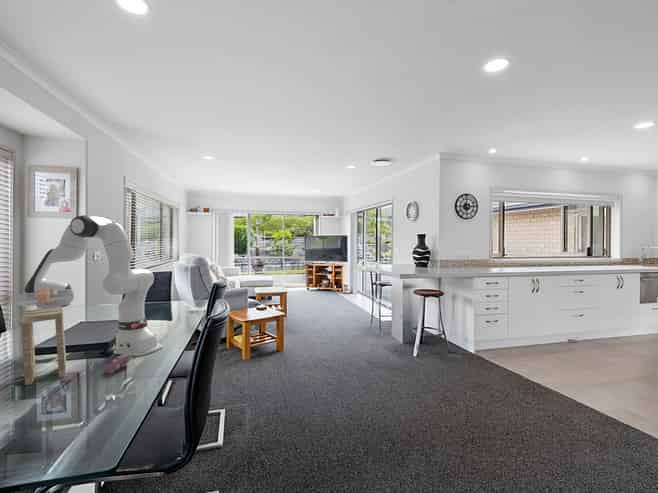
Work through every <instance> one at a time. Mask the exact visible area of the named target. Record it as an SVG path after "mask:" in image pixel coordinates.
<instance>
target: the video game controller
mask: <svg viewBox="0 0 658 493" xmlns="http://www.w3.org/2000/svg"><path fill="white" fill-rule="evenodd" d="M131 359H132V356H130V355H127V354H125V355H122V354H120V355H118V356H117V357H115V359H113V360H112V361H110V363H109V364H108V365H107V366H106V367H105V368H104V370H103V372H104V374H109V373H111V372H112V371H115V372H117V371H116V370H118V369H119V370H120V369H123V368H124V366H125V367H126V366H127V364H128V363H129V362H130V361H131ZM122 367H123V368H122ZM119 370H118V371H119Z"/></svg>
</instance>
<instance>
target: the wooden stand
mask: <svg viewBox="0 0 658 493" xmlns="http://www.w3.org/2000/svg"><path fill="white" fill-rule="evenodd" d="M52 320H54V323H55V324H54V325H55V337H56V338H55V339H56V351H57V352H56V353H57V354H56V355H57V367H58V368H57V370H58V379H60V378H65V377H66V370H67V359H66V358H67V357H66V342H65V341H66V340H65V326H64V307H63V306H62V307H53V308H45V309H31V310H25V311H24V312H23V314H22V315H21V317H20V319H19V323H20V327H21V328H20V330H21V342H22V343H21V345H22V356H23V370H24V373H23V374H24V386H29V385H32V384H33V383H34V380H35V377H36V372H37V371H36V370H37V367H36V354H35V340H34V324H33V323H38V322H43V321H45V322H47V321H52Z"/></svg>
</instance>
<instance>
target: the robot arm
mask: <svg viewBox="0 0 658 493" xmlns="http://www.w3.org/2000/svg"><path fill="white" fill-rule="evenodd" d="M91 239H100V240H101V241H102V245H103V248H104V250H105V253H106V256H107V261H108V271H107V274H106V275H105V277H104V278H103V281H102V287H103V289H104V291H105V293H107V294H109V295H124V297H123V300H122V301H121V302H120V303H119V304H118V308H117V309H118V310H117V311H118V312H117V313H118V321H117V329H118V332H117V333H116V337H115V349H114V350H113V354H114V355H115V354H116V355H125V354H127V355H129V356H131V357H140V356H145V355H149V354H151V353H153V352H156V351H159V350H161V349H162V348H164V345H163V344H162V343H159V342H158V337H157V335H158V334H157V332H153V330H152V329H150V328H149V326H148V323H149V322H148V320H147V318H146V317H145V303H146V302H145V301H146V297H147V294H148V291H149V289H150V287H151V286H152V285H153V283H155V282H154V281H155V276H154V272H152V270H150V269H149V268H148V269H147V268H134V269H133V268H132V269H131V261H133V259H134V257H135V253H134V249H133V248H132V245H131V242H130V239H129V236H128V234H127V232H126V230H125V229H124V227H123V225H121V224H120V223H118V222H116V221H115V220H114V219H112V218H109V217H102V216H97V215H86V214H85V215H84V214H83V215H77V216H76V217H74V218H72V219H71V221H70V223H69V224H68V225H67V227H66V228H65V230H64V232H63V234H62V236H61V239H60V241H59V243H58V245H57V246H56V247H55V248H52V249H51V248H50V249H49V250H47V252H46V254H44V257H42V259H41V261H40V262H39V264H38V265H37V268H35V271H34V272H33V275H32V276H31V278H29V280H28V282H27V283H26V284H25V286H24V290H23V291H24V293H19V294H17V295H16V303H17V305H19V306H21V307H31V306H36V308H37V309H45V308H53V307H62V306H63V308H65V307H69V306H71V305H72V303H73V301H74V298H75V290H74V289H73V288H72V286H71V285H70V284H69V283H66V282H61V281H56V280H51V279H47V278H46V277H45V276H46V274H47V272H49V269H50V268H51V267H52V264H55V263H56V264H57V263H63V262H64V263H65V262H67V263H68V262H69V263H70V262H73V261H78V260H79V259H81V258H82V257H83V256H84V254H85V253H86V251H87V248H88V244H89V241H90V240H91ZM47 287H50V296H49V298H48V301H47V302H40V303H37V294H38V293H39V291H40V290H41V288H47ZM37 309H36V310H37Z"/></svg>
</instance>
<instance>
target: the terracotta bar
mask: <svg viewBox="0 0 658 493" xmlns="http://www.w3.org/2000/svg"><path fill="white" fill-rule="evenodd" d="M49 296H50V287H47V288H41V290H40V291H39V293H38V294H37V303H40V302H47V301H48V298H49Z"/></svg>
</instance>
